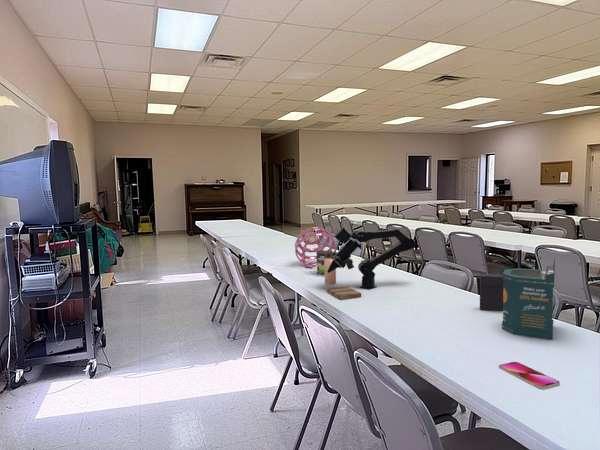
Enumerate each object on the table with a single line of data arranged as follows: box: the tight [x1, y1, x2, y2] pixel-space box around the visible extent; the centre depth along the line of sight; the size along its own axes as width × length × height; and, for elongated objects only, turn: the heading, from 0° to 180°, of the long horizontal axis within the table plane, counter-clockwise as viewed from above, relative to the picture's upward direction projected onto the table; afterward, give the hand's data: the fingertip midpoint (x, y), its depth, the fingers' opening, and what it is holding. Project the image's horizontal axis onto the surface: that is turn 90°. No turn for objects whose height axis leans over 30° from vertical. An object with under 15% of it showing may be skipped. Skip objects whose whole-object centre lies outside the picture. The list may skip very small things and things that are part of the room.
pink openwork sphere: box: [294, 226, 338, 269], centre depth 277 cm, size 28×28×27 cm
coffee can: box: [315, 250, 334, 277], centre depth 253 cm, size 10×10×14 cm
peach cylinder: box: [324, 258, 337, 286], centre depth 217 cm, size 6×6×13 cm
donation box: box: [501, 252, 556, 341], centre depth 150 cm, size 16×16×28 cm
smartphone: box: [498, 361, 561, 390], centre depth 117 cm, size 7×1×15 cm
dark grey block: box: [479, 273, 504, 313], centre depth 174 cm, size 11×4×15 cm, turn 71°
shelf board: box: [326, 285, 362, 301], centre depth 206 cm, size 16×11×2 cm
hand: (327, 271), depth 217 cm, fingers closed on peach cylinder, 6 cm apart
